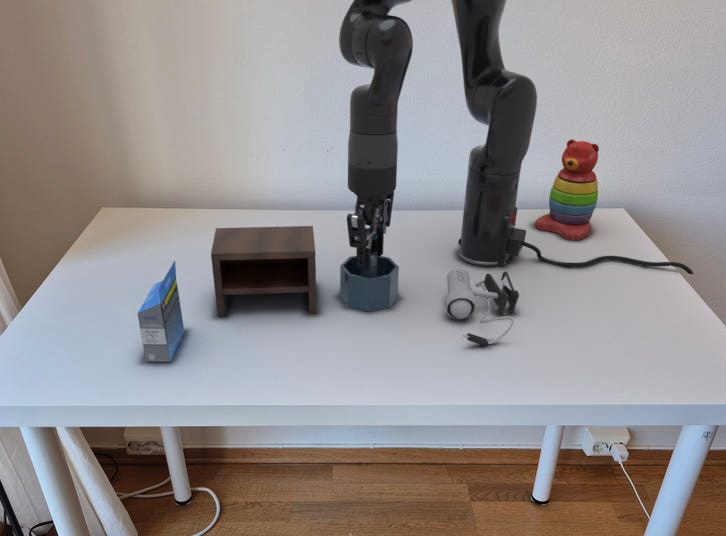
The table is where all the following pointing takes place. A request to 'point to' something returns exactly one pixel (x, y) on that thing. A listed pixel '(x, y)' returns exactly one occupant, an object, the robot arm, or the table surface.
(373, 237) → the vaping device
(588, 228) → the stacking bear
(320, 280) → the table surface
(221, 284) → the block
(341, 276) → the pen pot
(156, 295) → the blue cardboard box
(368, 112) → the robot arm
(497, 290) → the clip-on lamp
